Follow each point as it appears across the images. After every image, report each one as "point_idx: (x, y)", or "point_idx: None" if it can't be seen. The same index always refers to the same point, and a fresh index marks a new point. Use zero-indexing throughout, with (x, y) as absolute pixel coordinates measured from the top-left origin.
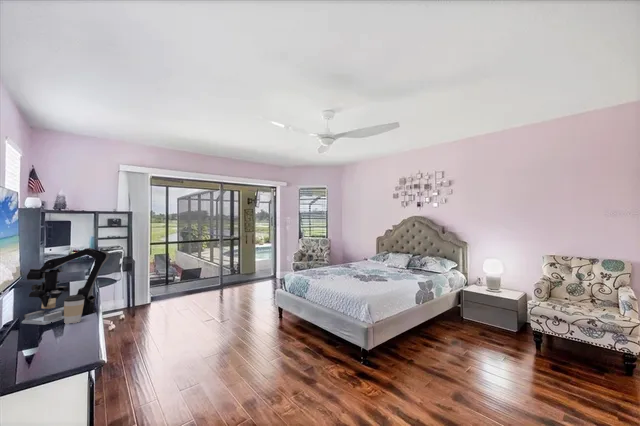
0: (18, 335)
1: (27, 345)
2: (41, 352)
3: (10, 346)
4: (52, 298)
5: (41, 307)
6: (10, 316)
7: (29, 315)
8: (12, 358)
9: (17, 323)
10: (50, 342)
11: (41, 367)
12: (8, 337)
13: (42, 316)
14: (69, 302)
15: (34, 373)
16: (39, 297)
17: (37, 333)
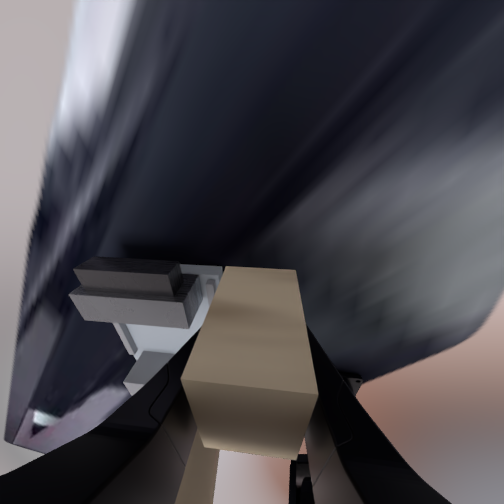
0: (47, 358)
1: (47, 405)
2: (55, 429)
3: (19, 388)
4: (261, 446)
5: (223, 273)
6: None
7: (88, 316)
8: (16, 415)
9: (88, 238)
10: (82, 422)
11: (41, 444)
12: (22, 349)
13: None
14: None
15: (32, 445)
16: (59, 456)
17: (88, 383)
